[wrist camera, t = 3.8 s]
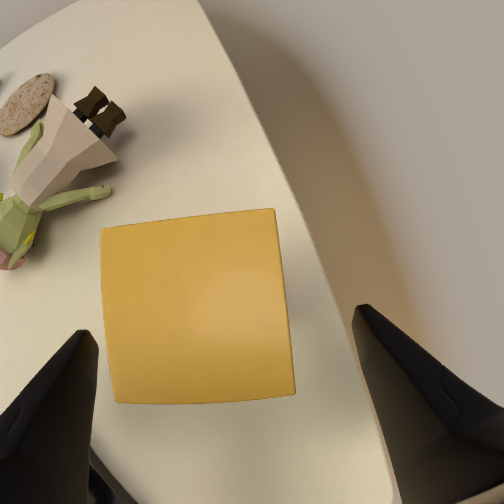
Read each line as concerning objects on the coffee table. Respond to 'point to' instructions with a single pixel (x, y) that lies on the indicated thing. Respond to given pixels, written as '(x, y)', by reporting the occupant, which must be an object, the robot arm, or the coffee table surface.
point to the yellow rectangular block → (196, 310)
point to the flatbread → (25, 104)
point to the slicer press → (104, 485)
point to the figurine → (55, 169)
